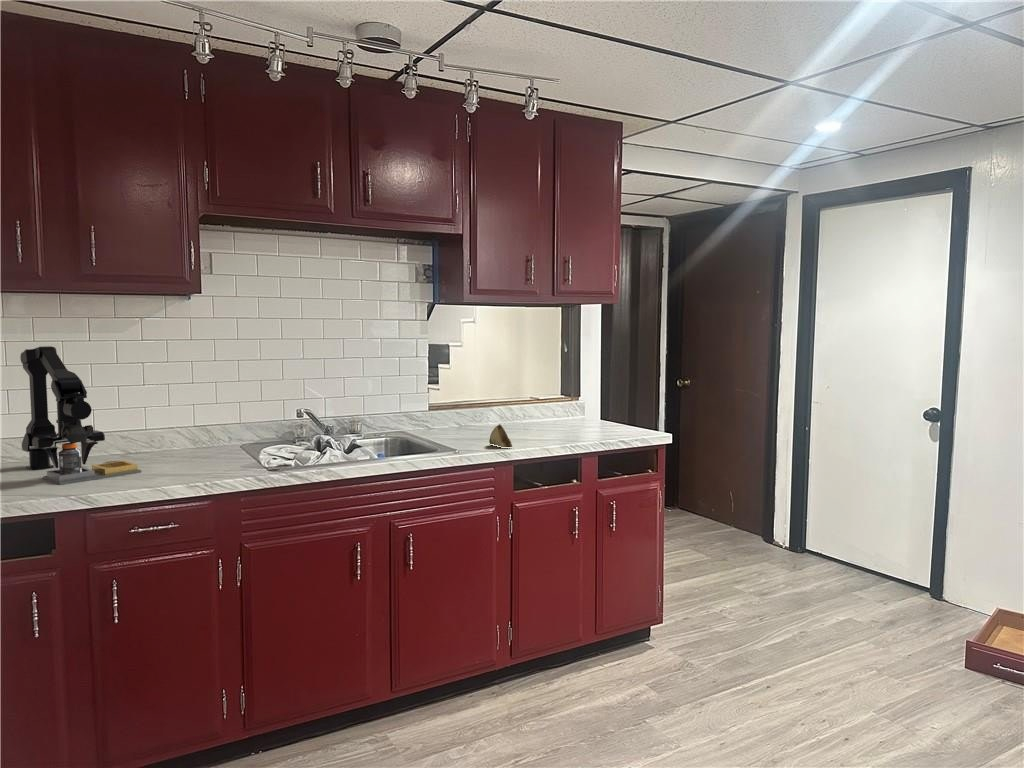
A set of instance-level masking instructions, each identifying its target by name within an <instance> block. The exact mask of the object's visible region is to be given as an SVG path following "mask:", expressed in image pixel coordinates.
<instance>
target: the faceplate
mask: <svg viewBox="0 0 1024 768" xmlns="http://www.w3.org/2000/svg"><path fill="white" fill-rule="evenodd" d="M116 461H117V462H110V461H109V462H110V463H105V462H102V463H96V464H91V468H88V467H85V466H82V472H78V473H71V474H65V475H60V469H54V470H48V471H46V475H44V476H43V478H42V479H43V480H46V481H48V482H51V483H53V484H56V485H59V486H63V485H68V484H69V485H71V484H74V483H75V484H76V483H82V482H88V481H94V480H95V481H96V480H101V479H107V478H108V479H109V478H114V476H115V477H121V476H126V475H133V474H140V473H142V469H139V468H138V464H137V463H134V462H130V461H127V460H116Z"/></svg>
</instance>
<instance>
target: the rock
mask: <svg viewBox="0 0 1024 768" xmlns="http://www.w3.org/2000/svg"><path fill="white" fill-rule="evenodd" d="M488 443H490V444H494V445H498V446H501V447H513V444H512V442H511V440H510V438H509V436H508V434H507V432H506V431H505V429H504V428H503V426H502V424H501V423H498V424H497V425H496V426H495V427H494V428H493V430H491V433H490V436H489V441H488ZM490 444H489V445H490Z"/></svg>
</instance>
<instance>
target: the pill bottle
mask: <svg viewBox="0 0 1024 768" xmlns="http://www.w3.org/2000/svg"><path fill="white" fill-rule="evenodd" d="M61 448H62V450H60V451H59V452H58V468H59V470H60V475H65V474H71V473H78V472H82V467H83V466H82V465H83V463H82V452H81V450H80V449H78V442H76V443H70V442H63V443H61Z"/></svg>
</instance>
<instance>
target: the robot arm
mask: <svg viewBox="0 0 1024 768" xmlns="http://www.w3.org/2000/svg"><path fill="white" fill-rule="evenodd" d="M19 358H20V362H21V364H22V368H23V370H24V371H25V373H26V374H27V375H28V377H29V395H30V396H29V398H30V414H31V415H30V417H31V419H30V421H29V423H28V424H27V426H26V427H25V434H24V437H23V439H22V441H21V449H22V451H24V452H27V453H28V455H29V456H28V459H29V465H26V466H25V468H27V469H29V470H32V471H35V470H43V469H49V468H55V469H58V468H59V457H58V452H57V451H58V448H59V447H58V446H57V444H64V443H80V447H81V448H80V449H81V450H80V451H81V464H82V465H86V464H87V460H88V458H89V454H90V452H91V450H92V448H93V447H94V446H95V445H97V444H99V442H103V441H106V439H105V437H106V436H105V433H104V432H103V431H100V430H94V426H93V425H92V424H90V425H89V424H88V425H85V426H83V425H82V420H85V419H88V418H89V417H90V415H91V414H92V406H91V405H90V403H88V402H87V401H85V399H88V395H87V394H88V392H87V389H86V387H85V385H84V383H83V381H82V380H81V379H80V377H79V376H78V375H77V374H76V373H75V372H73V371H70V370H68V368H67V367H66V365H65V364H64V363H63V361H62V359H61V358H60V357H59V354H58V353H57V348H56V347H54V346H48V345H47V346H46V345H45V346H38V347H35V348H31V349H30V348H28V349H24V351H22V352H21V353H20V356H19ZM48 374H49V376H50V378H51V383H50V388H51V391H52V393H53V395H54V396H55V402H56V413H57V416H56V417H57V419H56V420H55V421H56V424H57V431H56V426H55V424H53V423H52V422H51V421H50V419H49V407H48V404H49V403H48V391H47V390H48V386H47V376H48ZM51 462H52V464H51Z"/></svg>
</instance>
